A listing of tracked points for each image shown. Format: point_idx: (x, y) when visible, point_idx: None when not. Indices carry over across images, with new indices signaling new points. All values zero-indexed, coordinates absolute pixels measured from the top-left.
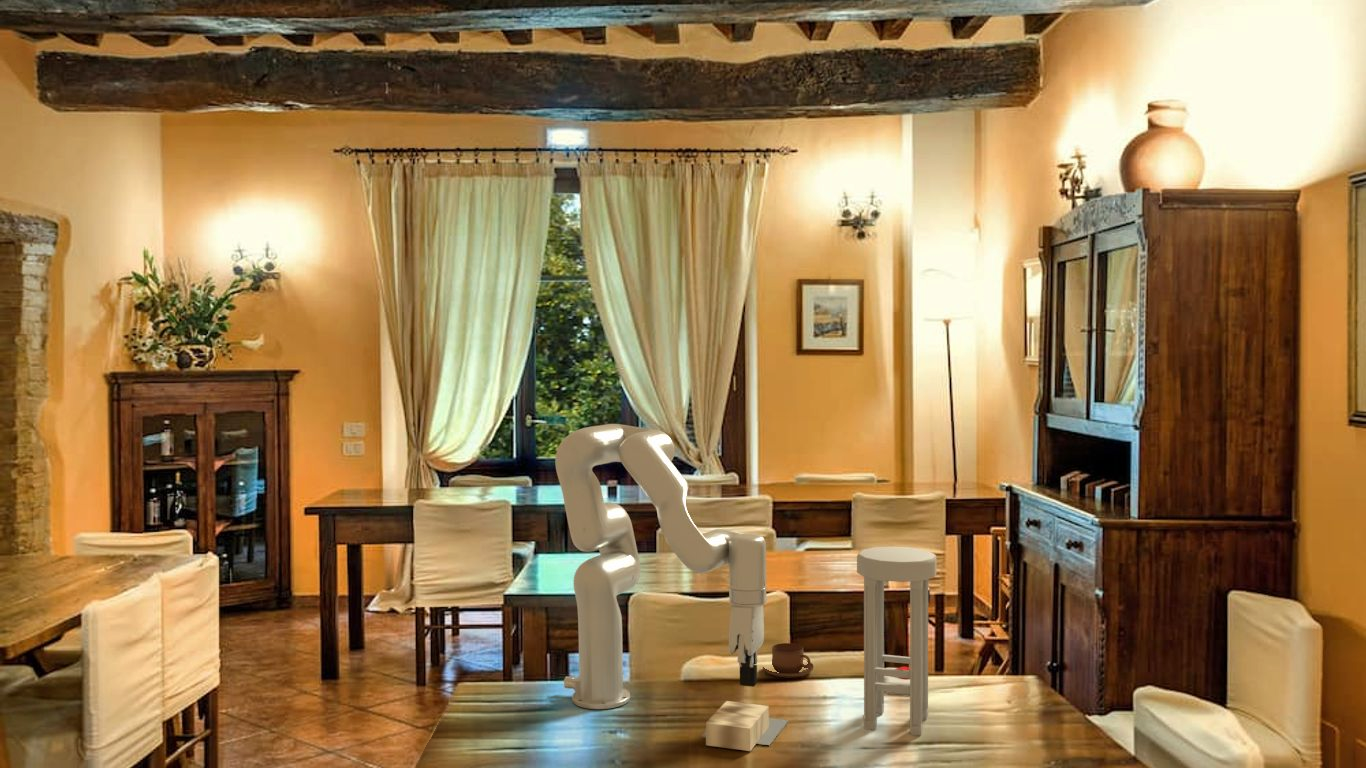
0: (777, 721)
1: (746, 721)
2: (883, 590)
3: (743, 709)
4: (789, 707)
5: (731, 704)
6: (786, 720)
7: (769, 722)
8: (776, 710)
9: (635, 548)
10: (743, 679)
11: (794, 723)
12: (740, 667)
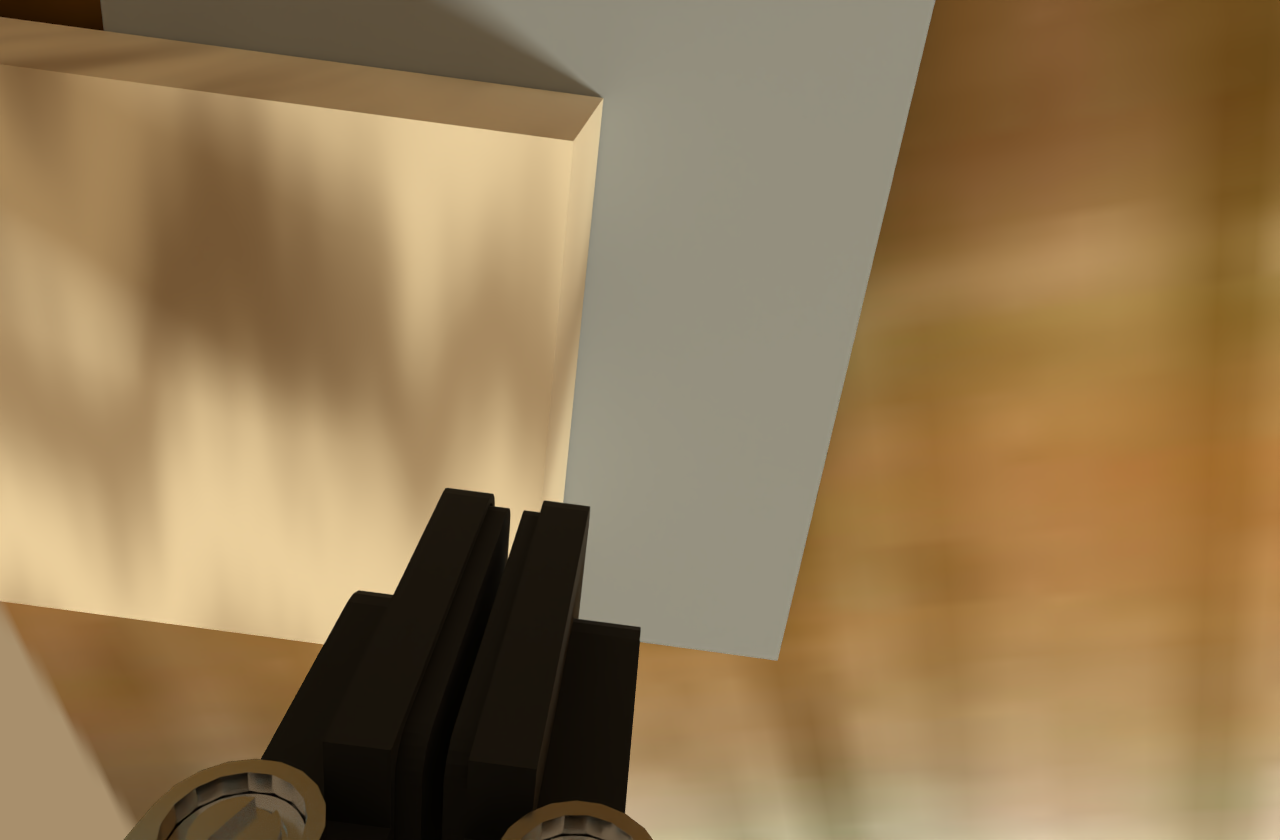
0: (729, 583)
1: None
2: None
3: (311, 424)
4: (1162, 630)
5: (441, 241)
6: (767, 648)
7: (690, 522)
8: (1074, 533)
9: None
10: (342, 625)
11: (747, 694)
12: (344, 725)
